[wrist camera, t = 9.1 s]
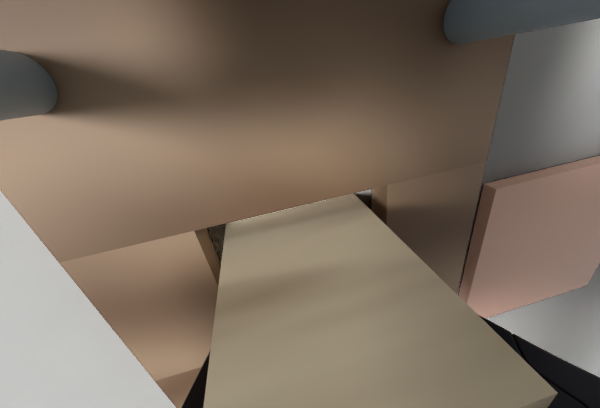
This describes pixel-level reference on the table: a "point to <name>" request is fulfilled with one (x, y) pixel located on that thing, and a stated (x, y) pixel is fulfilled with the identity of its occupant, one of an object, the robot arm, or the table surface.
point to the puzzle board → (237, 141)
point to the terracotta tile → (534, 237)
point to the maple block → (350, 322)
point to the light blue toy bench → (457, 25)
